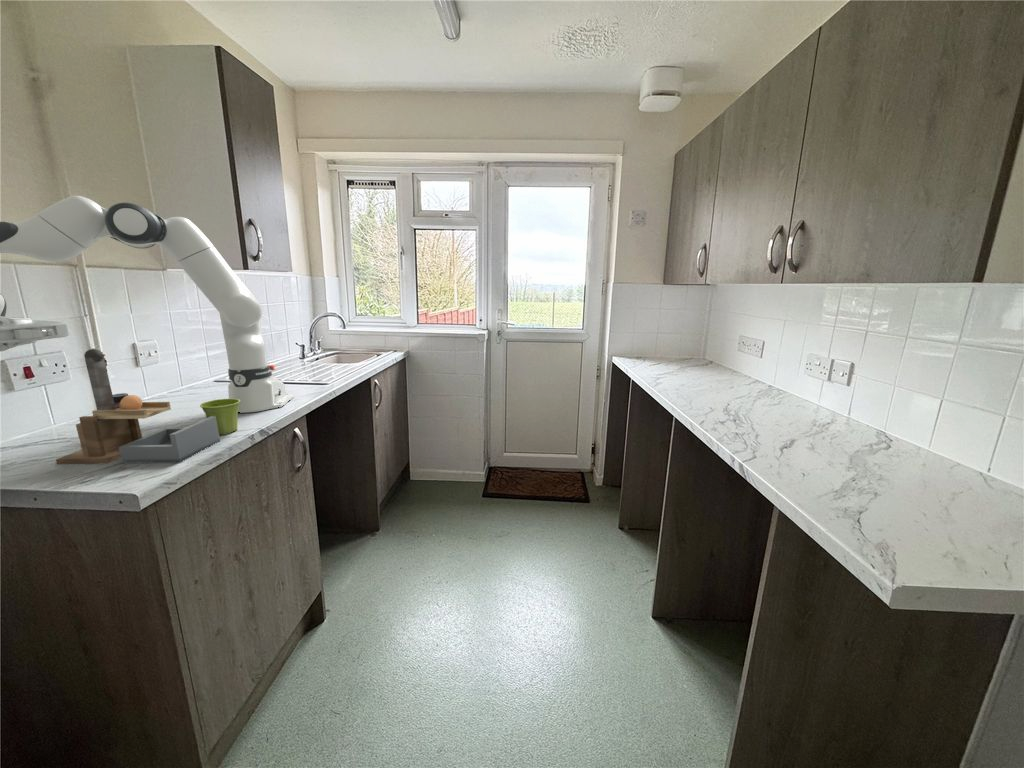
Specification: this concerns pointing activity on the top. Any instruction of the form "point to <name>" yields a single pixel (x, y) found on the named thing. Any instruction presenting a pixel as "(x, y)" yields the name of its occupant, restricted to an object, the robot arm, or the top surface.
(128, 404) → the ball
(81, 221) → the robot arm
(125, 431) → the lever stand
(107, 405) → the launcher
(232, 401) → the plant pot
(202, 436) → the bin
